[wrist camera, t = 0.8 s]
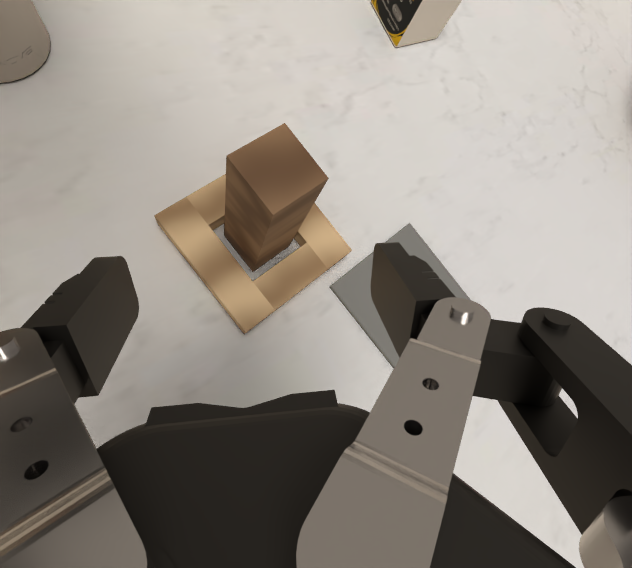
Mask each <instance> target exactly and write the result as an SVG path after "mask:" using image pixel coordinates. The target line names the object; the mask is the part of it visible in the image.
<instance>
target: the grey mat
mask: <svg viewBox="0 0 632 568" xmlns="http://www.w3.org/2000/svg"><path fill="white" fill-rule="evenodd" d="M391 242H399V243H400V244H401V245H402V247H403V248H404V249H405V251H406V252H407V253H408V254H409V256H412V255H415V256H416V257H418V258H420V259H422V260H424V261H425V262H427V263H428V265H429V266H430V267H431V268H432V269H433V272H435V273H436V274H437V275H438V276H439V279H441V280H442V281H443V282H444V284H445V285H446V286H447V287H448V288H449V290H450V291H451V292H452V293H453V294H454V295H455V297H457V298H464V299H468V300H470V298H469V297H468V296H467V295H466V293H465V292H464V291H463V290H462V288H461V287H460V286H459V285H458V283H457V282H456V281H455V280H454V278H453V277H452V276H451V275H450V273H449V272H448V271H447V269H446V268H445V267H444V266H443V264H442V263H441V262H440V261H439V259H438V258H437V257H436V256H435V254H434V253H433V252H432V251H431V249H430V248H429V247H428V245H427V244H426V243H425V242H424V240H423V239H422V238H421V237H420V235H419V234H418V233H417V232H416V230H415V229H414V228H413V227H412V225H411V224H410V223H409V224H408V225H407V226H405V227H404V228H403V229H402V230H400V231H399V232H398V233H397V234H395V235H394V236H393V237H392V238H390V239H389V240H388V241H387V242H385V243H391ZM373 254H374V252H373V253H372V254H370V255H369V256H368V257H367V258H365V259H364V260H363V261H362V262H360V263H359V264H358V265H357V266H355V267H354V268H353V269H352V270H350V271H349V272H348V273H347V274H345V275H344V276H343V277H342V278H340V279H339V280H338V281H337V282H335V283H334V284H333V285H332V286H330V288H331V289H332V291H333V292H334V293H335V294H336V296H337V297H338V298H339V299H340V301H341V302H342V303H343V305H344V306H345V307H346V308H347V310H348V311H349V312H350V313H351V315H352V316H353V317H354V319H355V320H356V321H357V322H358V324H359V325H360V326H361V327H362V329H363V330H364V331H365V332H366V334H367V335H368V336H369V338H370V339H371V340H372V341H373V343H374V344H375V345H376V346H377V348H378V349H379V350H380V352H381V353H382V354H383V355H384V357H385V358H386V359H387V360H388V362H389V363H390V364H391V365H392V367H393V368H395V366H396V364H397V362H398V360H399V356H398V354H397V352H396V350H395V348H394V345H393V343H392V341H391V339H390V337H389V335H388V333H387V331H386V328H385V326H384V324H383V322H382V320H381V318H380V316H379V314H378V312H377V309H376V307H375V305H374V303H373V301H372V297H371V275H372V264H373Z"/></svg>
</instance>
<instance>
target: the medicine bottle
mask: <svg viewBox="0 0 632 568" xmlns="http://www.w3.org/2000/svg"><path fill="white" fill-rule="evenodd" d="M461 1H462V0H371V4H372V5H373V7H374V9H375V11H376V13H377V15H378V17H379V18H380V20H381V22H382V24H383V26H384V28H385V30H386V31H387V33H388V35H389V37H390V39H391V41H392V43H393V44H394V46H395V47H401V46H405V45H410V44H414V43H418V42H423V41H427V40H431V39H436V38H437V37H438V36H439V34H440V33H441V31H442V30H443V28H444V27H445V25H446V24H447V22H448V21H449V19H450V18H451V16H452V15H453V13H454V12H455V10H456V9H457V7H458V6H459V4H460V3H461Z"/></svg>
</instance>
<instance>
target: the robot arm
mask: <svg viewBox="0 0 632 568" xmlns="http://www.w3.org/2000/svg"><path fill="white" fill-rule="evenodd" d="M49 51H50V38H49V34H48V32H47V30H46V27H45V25H44V23H43V22H42V20H41V18H40V16H39V14H38V12H37V10H36V8H35V6H34V4H33V2H32V0H0V83H3V82H11V81H15V80H18V79H22V78H24V77H26V76H28V75H30V74H32V73H34V72H35V71H36V70H37V69H39V68H40V67H41V66H42V64H43V63H44V62H45V60H46V59H47V56H48V54H49ZM371 297H372V301H373V303H374V305H375V307H376V309H377V312H378V314H379V316H380V318H381V320H382V322H383V324H384V326H385V328H386V331H387V333H388V335H389V337H390V339H391V341H392V343H393V345H394V348H395V350H396V352H397V354H398V356H399V360H398V362H397V364H396V366H395V368H394V370H393V371H392V373H391V375H390V377H389V379H388V381H387V383H386V384H385V386H384V388H383V390H382V392H381V394H380V395H379V397H378V399H377V401H376V403H375V405H374V407H373V408H372V410H371V412H368V411H365V410H363V409H360V408H357V407H354V406H349V405H345V404H338V403H337V399H336V395H335V390H328V391H317V392H307V393H297V394H290V395H287V396H283V397H280V398H277V399H274V400H271V401H267V402H264V403H261V404H258V405H255V406H251V407H247V408H236V407H228V406H219V405H210V404H202V403H194V404H184V405H174V406H164V407H153V408H151V411H150V414H149V417H148V420H147V423H146V424H142V425H140V426H137V427H135V428H132V429H130V430H127V431H125V432H123V433H122V434H120V435H118V436H116V437H114V438H113V439H111V440H109V441H108V442H106V443H104V444H103V445H102V446H100V447H99V448H97V449H96V447H95V445H94V443H93V441H92V439H91V437H90V435H89V433H88V431H87V429H86V427H85V425H84V423H83V421H82V419H81V417H80V415H79V413H78V411H77V409H76V407H75V405H74V404H75V402H76V400H77V399H78V397H89V396H98V395H99V393H100V391H101V389H102V387H103V385H104V383H105V381H106V379H107V377H108V375H109V373H110V371H111V369H112V367H113V365H114V363H115V361H116V359H117V357H118V355H119V353H120V351H121V349H122V347H123V345H124V343H125V341H126V339H127V337H128V335H129V333H130V331H131V329H132V327H133V325H134V323H135V321H136V319H137V317H138V312H139V303H138V298H137V294H136V291H135V288H134V285H133V281H132V278H131V275H130V272H129V268H128V265H127V262H126V260H125V259H124V258H123V257H122V256H115V257H96V258H94V259H92V261H91V262H90V263H89V264H88V265H87V266H86V267H85V269H84V270H83V271H82V272H81V273H80V274H77V275H75V276H73V277H72V278H70V279H68V280H67V281H65V282H63V283H62V284H61V285H60V286H59V287H58V288H57V289H56V290H55V291H54V292H53V295H51V296H50V297H49V298H48V299H47V300H46V301H45V304H42V305H41V306H40V307H39V309H38V310H37V311H36V312H35V313H34V314H33V315H32V316H31V317H30V318H29V319H28V320H27V321H26V323H25V324H24V325H23V326H22V327H21V328H15V329H10V330H6V331H2V332H0V568H576V567H574V566H573V565H572V564H571V563H569V562H568V561H567V560H565V559H564V558H563V557H562V556H560V555H559V554H558V553H556V552H555V551H554V550H552V549H551V548H550V547H548V546H547V545H546V544H545V543H543V542H542V541H541V540H539V539H538V538H537V537H535V536H534V535H533V534H532V533H530V532H529V531H528V530H526V529H525V528H524V527H522V526H521V525H520V524H519V523H517V522H516V521H515V520H513V519H512V518H511V517H509V516H508V515H507V514H506V513H504V512H503V511H502V510H500V509H499V508H498V507H496V506H495V505H494V504H493V503H491V502H490V501H489V500H487V499H486V498H485V497H483V496H482V495H481V494H479V493H478V492H477V491H476V490H474V489H473V488H472V487H470V486H469V485H468V484H466V483H465V482H464V481H463V480H461V479H460V478H459V477H457V476H456V475H455V474H453V470H454V466H455V462H456V458H457V454H458V450H459V446H460V443H461V439H462V435H463V431H464V427H465V423H466V419H467V415H468V411H469V407H470V404H471V400H472V396H477V397H483V398H489V399H495V400H498V402H499V404H500V405H501V407H502V408H503V410H504V412H505V413H506V415H507V416H508V418H509V420H510V421H511V423H512V424H513V426H514V428H515V429H516V431H517V432H518V434H519V435H520V437H521V439H522V440H523V442H524V443H525V445H526V447H527V448H528V450H529V451H530V453H531V455H532V456H533V458H534V459H535V461H536V462H537V464H538V466H539V467H540V469H541V470H542V472H543V474H544V475H545V477H546V478H547V480H548V482H549V483H550V485H551V486H552V488H553V490H554V491H555V493H556V494H557V496H558V497H559V499H560V501H561V502H562V504H563V505H564V507H565V509H566V510H567V512H568V513H569V515H570V517H571V518H572V520H573V521H574V523H575V525H576V526H577V528H578V529H579V531H580V532H581V534H582V536H581V538H580V542H579V552H580V557H581V560H582V563H583V566H584V568H632V365H631V364H630V363H628V362H627V361H626V360H625V359H624V358H623V357H621V356H620V355H619V354H618V353H617V352H616V351H615V350H613V349H612V348H611V347H610V346H609V345H608V344H606V343H605V342H604V341H603V340H602V339H601V338H600V337H598V336H597V335H596V334H595V333H594V332H593V331H591V330H590V329H589V328H588V327H587V326H586V325H585V324H583V323H582V322H581V321H580V320H578V319H577V318H575V317H573V316H571V315H569V314H567V313H565V312H562V311H559V310H555V309H550V308H533V309H530V310H528V311H526V313H525V314H524V317H523V320H522V322H521V323H516V322H508V321H500V320H494V319H491V316H490V314H489V312H488V311H487V310H486V309H485V308H484V307H483V306H481V305H480V304H478V303H476V302H474V301H471V300H468V299H464V298H457V297H455V295H454V294H453V293H452V292H451V291H450V290H449V288H448V287H447V286H446V285H445V284H444V282H443V281H442V280H441V279H439V276H438V275H437V274H436V273H435V272H433V269H432V268H431V267H430V266H429V265H428V263H427V262H425V261H424V260H422V259H420V258H418V257H416V256H415V255H412V256H409V254H408V253H407V252H406V251H405V249H404V248H403V247H402V245H401V244H400V243H399V242H391V243H377V244H376V245H375V247H374V254H373V264H372V275H371ZM562 388H563V389H564V391H565V392H566V393H567V394H568V395H569V396H570V398H571V399H572V400H573V402H574V403H575V406H576V408H577V412H578V419H577V417H576V416H575V415H574V414H573V413H572V411H571V410H570V409H569V408H568V407H567V405H566V404H565V403H564V402H563V400H562V399H561V398H560V397H559V396H558V395H559V393H560V391H561V389H562Z"/></svg>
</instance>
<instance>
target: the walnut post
mask: <svg viewBox="0 0 632 568" xmlns="http://www.w3.org/2000/svg"><path fill="white" fill-rule="evenodd" d="M327 180H328V177H327V176H326V174H325V173H324V172H323V171H322V169H321V168H320V167H319V166H318V164H317V163H316V162H315V161H314V159H313V158H312V157H311V155H310V154H309V153H308V152H307V150H306V149H305V148H304V147H303V145H302V144H301V143H300V142H299V140H298V139H297V138H296V137H295V135H294V134H293V133H292V131H291V130H290V129H289V128H288V126H287V125H286V124H285V123H284V124H282V125H281V126H279V127H277V128H275V129H273V130H272V131H270V132H268V133H266V134H265V135H263V136H261V137H259V138H257V139H256V140H254V141H252V142H250V143H248V144H247V145H245V146H243V147H241V148H240V149H238V150H236V151H234V152H232V153H231V154H229V155H227V158H226V191H225V223H224V236H225V237H226V238H227V240H228V241H229V242H230V244H231V245H232V246H233V247H234V249H235V250H236V251H237V252H238V254H239V255H240V256H241V258H242V259H243V260H244V261H245V263H246V264H247V265H248V266H249V268H250V269H251V270H252V272H254V271H255V270H256V269H258V268H259V267H261V266H262V265H263V264H265V263H266V262H268V261H269V260H270V259H272V258H273V257H275V256H276V255H277V254H279V253H280V252H282V251H283V250H285V249H286V248H287V247H289V245H290V243H291V242H292V240H293V238H294V237H295V235H296V233H297V231H298V230H299V228H300V226H301V225H302V223H303V221H304V220H305V218H306V216H307V214H308V213H309V211H310V209H311V208H312V206H313V204H314V202H315V201H316V199H317V197H318V196H319V194H320V192H321V190H322V189H323V187H324V185H325V184H326V182H327Z"/></svg>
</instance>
